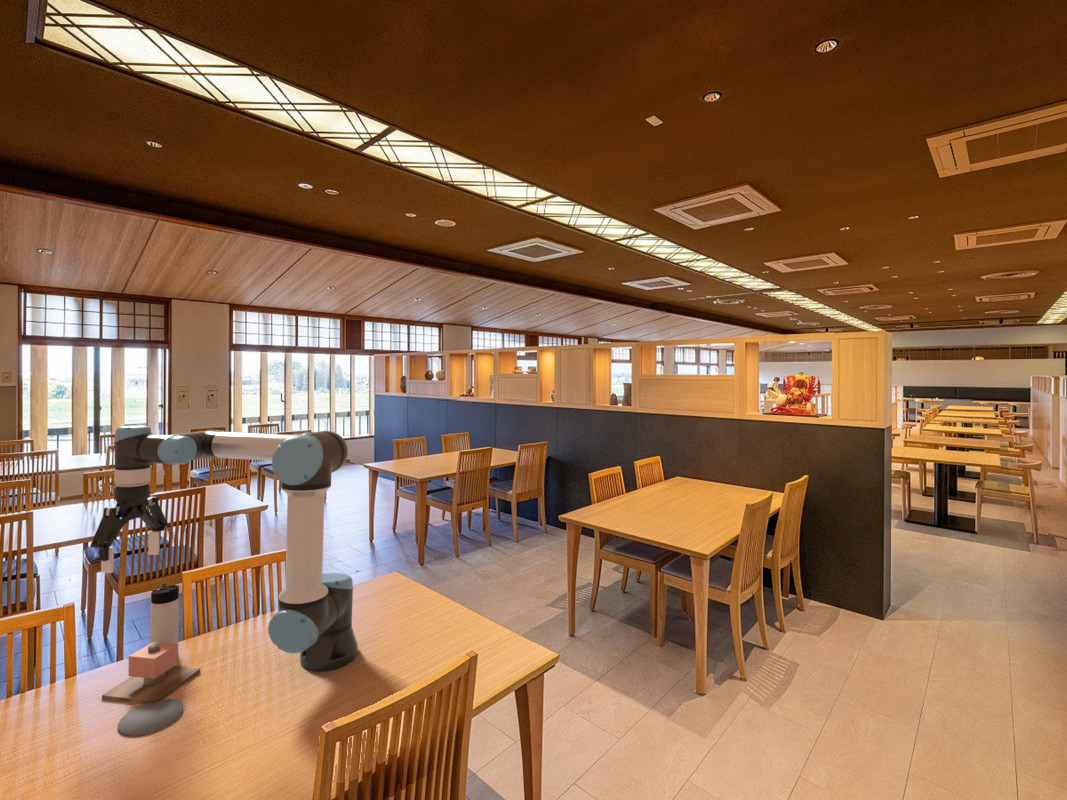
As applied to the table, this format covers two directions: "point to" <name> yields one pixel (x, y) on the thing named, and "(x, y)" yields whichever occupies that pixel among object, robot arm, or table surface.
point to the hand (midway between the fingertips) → (131, 563)
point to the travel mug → (165, 615)
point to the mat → (150, 717)
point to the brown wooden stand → (151, 686)
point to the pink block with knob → (153, 660)
